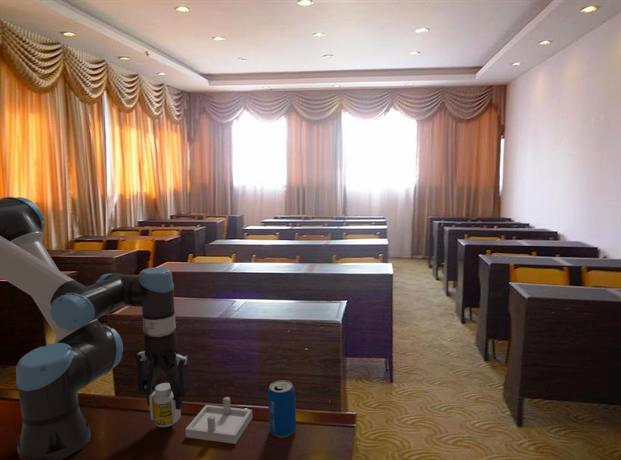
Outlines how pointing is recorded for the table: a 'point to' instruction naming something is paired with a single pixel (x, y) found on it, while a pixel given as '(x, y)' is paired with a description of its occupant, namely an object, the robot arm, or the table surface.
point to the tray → (219, 423)
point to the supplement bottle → (163, 405)
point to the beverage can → (282, 408)
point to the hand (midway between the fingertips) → (165, 418)
